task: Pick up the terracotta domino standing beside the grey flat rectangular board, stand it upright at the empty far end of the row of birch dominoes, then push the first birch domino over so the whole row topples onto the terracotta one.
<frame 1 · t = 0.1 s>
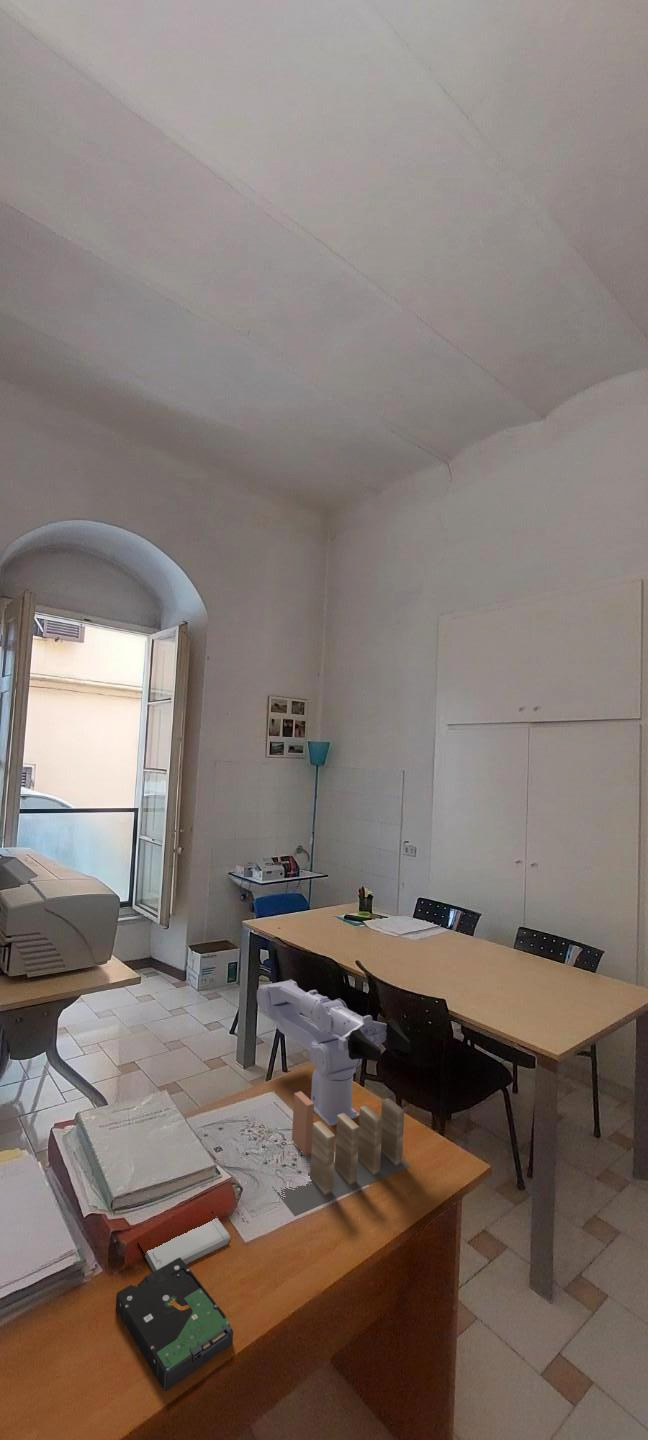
hand: (394, 1051, 122), 22 cm above the table, tool horizontal, fingers open, 7 cm apart
grey flat rectangular board: (343, 1178, 116), on the table
disk drive: (172, 1330, 85), on the table
domino 4: (321, 1185, 113), resting on grey flat rectangular board
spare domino: (301, 1149, 124), on the table
domino 2: (368, 1165, 119), resting on grey flat rectangular board
domino 3: (345, 1175, 116), resting on grey flat rectangular board
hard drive: (183, 1246, 99), on the table
domino 1: (390, 1156, 122), resting on grey flat rectangular board
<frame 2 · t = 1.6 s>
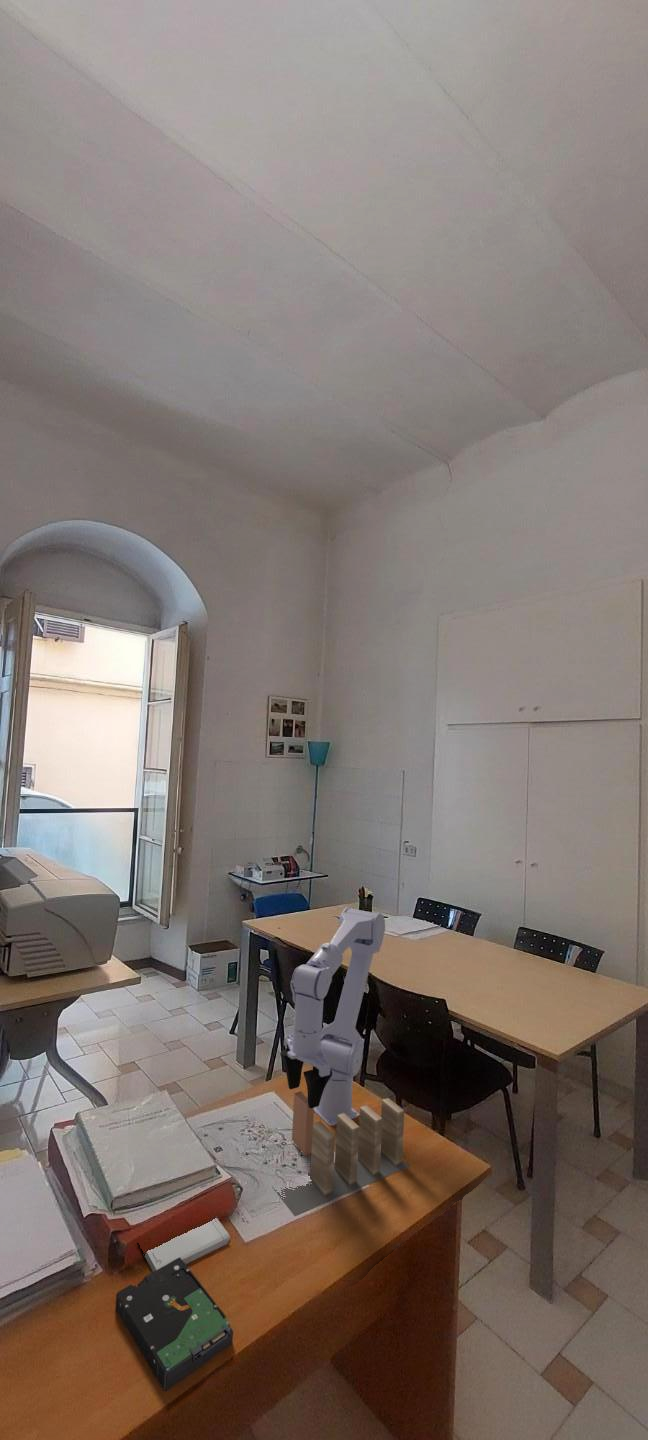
hand: (303, 1096, 124), 10 cm above the table, tool pointing down, fingers open, 7 cm apart
nothing on the table moved.
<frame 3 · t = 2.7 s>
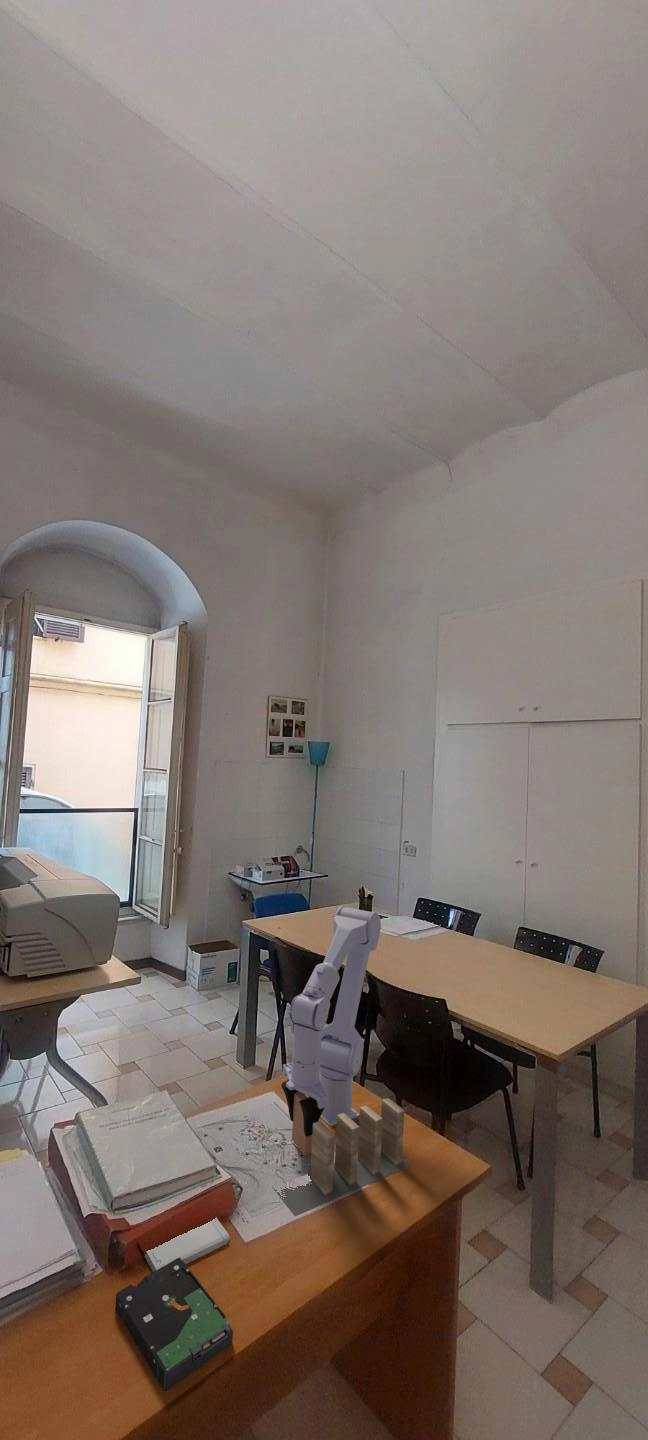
hand: (302, 1126, 124), 4 cm above the table, tool pointing down, fingers closed on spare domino, 5 cm apart
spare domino: (301, 1149, 124), on the table, touching gripper
everything else where it was.
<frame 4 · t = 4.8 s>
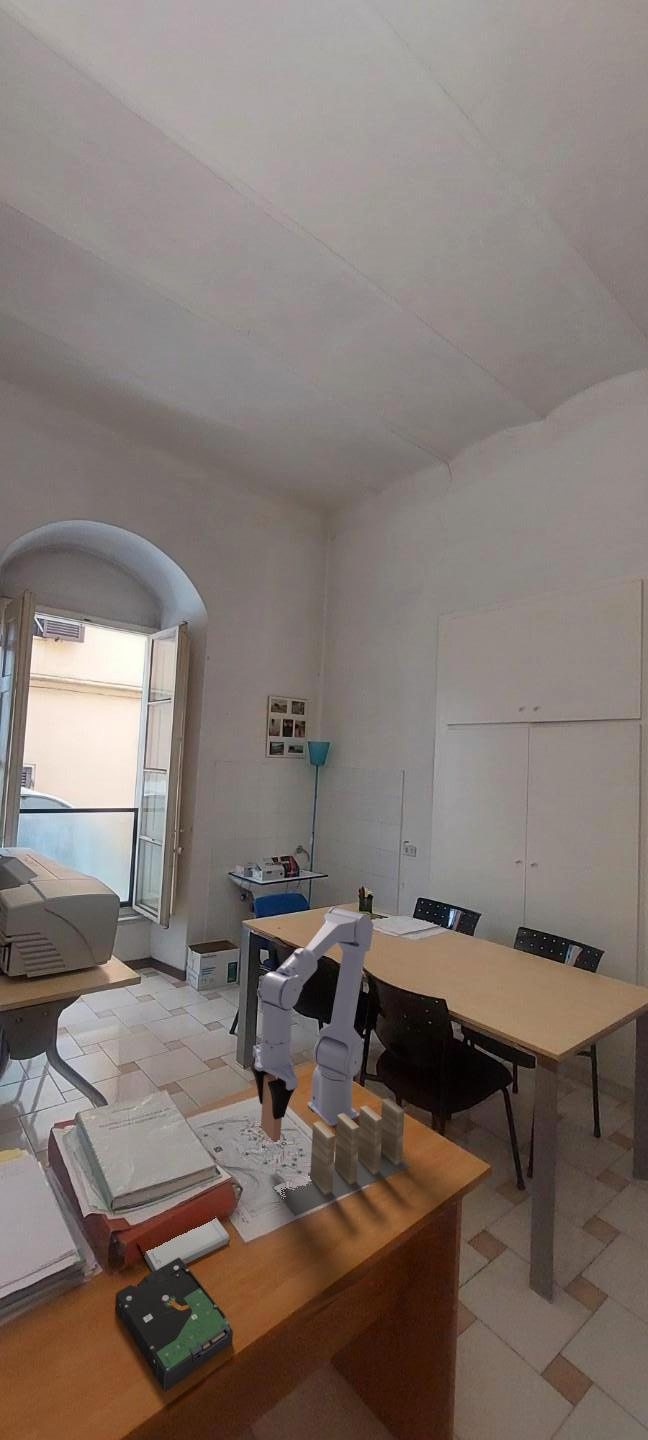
hand: (271, 1109, 119), 10 cm above the table, tool pointing down, fingers closed on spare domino, 5 cm apart
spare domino: (270, 1133, 119), point 6 cm above the table, touching gripper
everything else where it was.
when the fingers open (6 cm above the table, at t = 7.1 s): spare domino stays where it is, resting on grey flat rectangular board.
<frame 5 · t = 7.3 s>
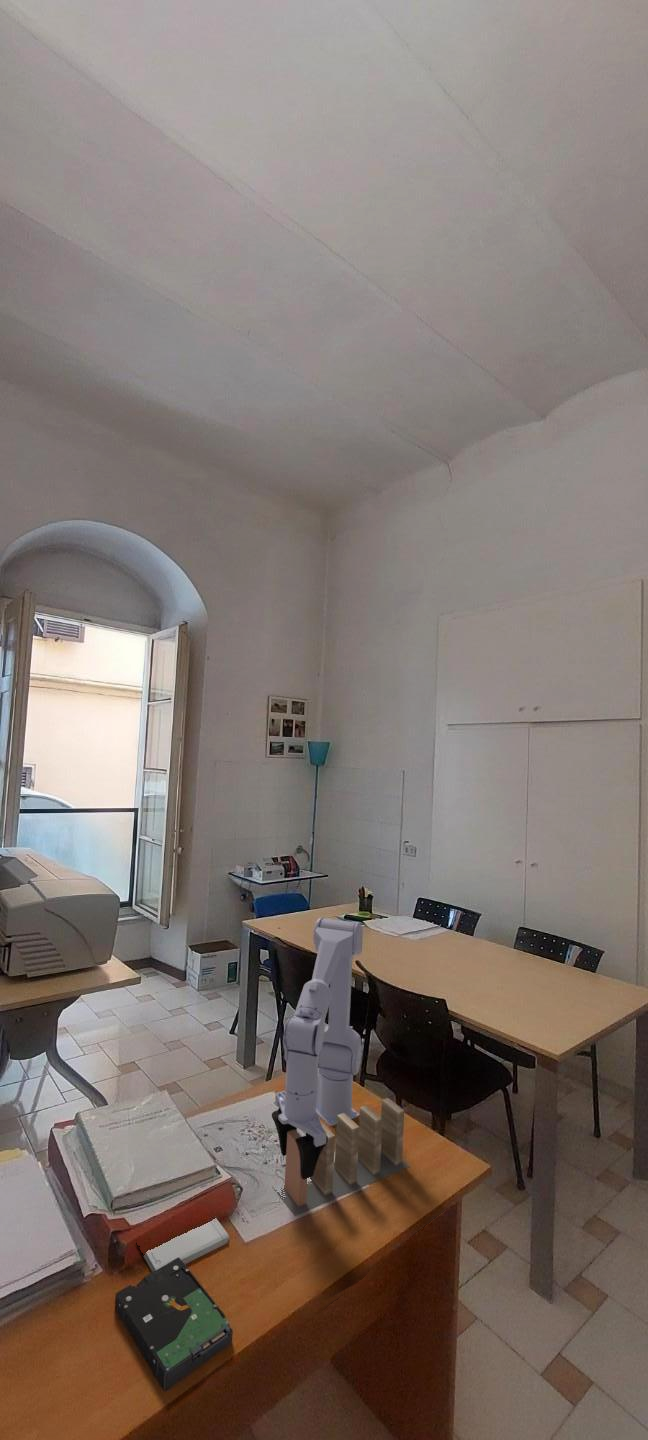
hand: (297, 1164, 111), 6 cm above the table, tool pointing down, fingers open, 6 cm apart
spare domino: (295, 1195, 110), resting on grey flat rectangular board
everything else where it was.
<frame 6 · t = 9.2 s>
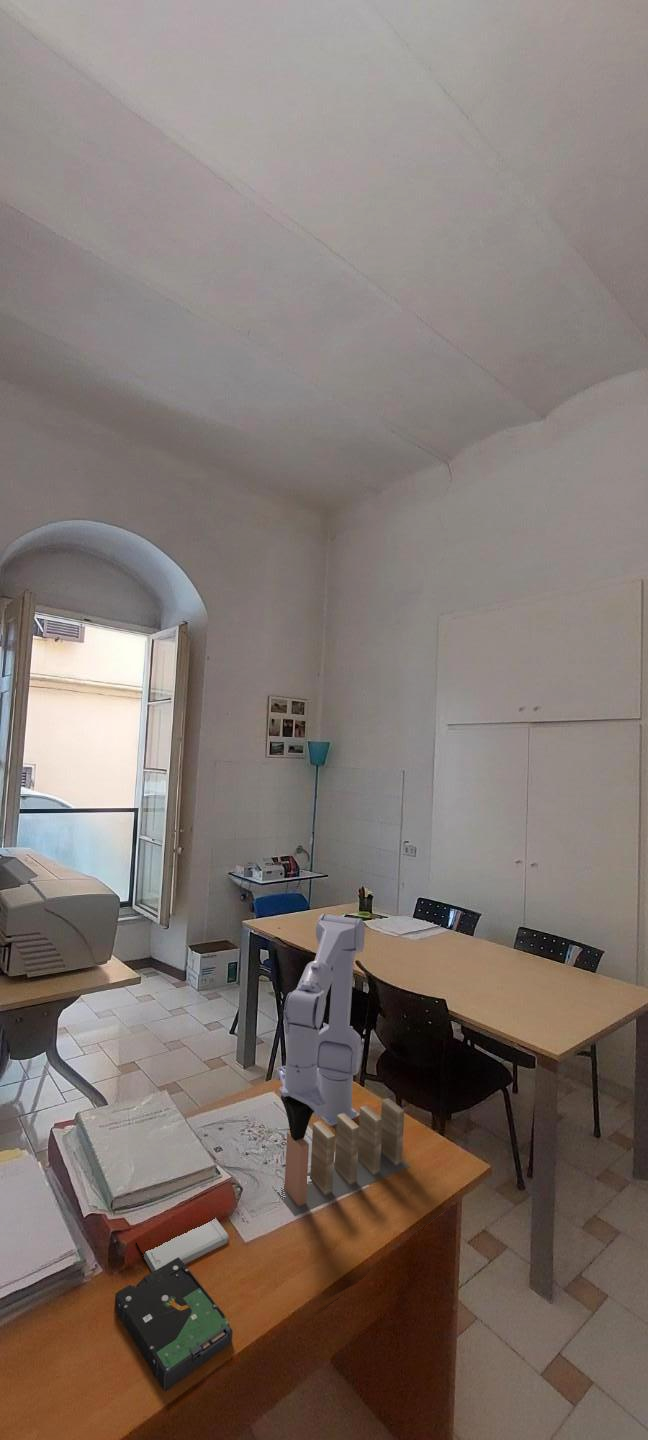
hand: (297, 1137, 111), 10 cm above the table, tool pointing down, fingers closed, pressing on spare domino
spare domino: (295, 1195, 110), resting on grey flat rectangular board, touching gripper
everything else where it was.
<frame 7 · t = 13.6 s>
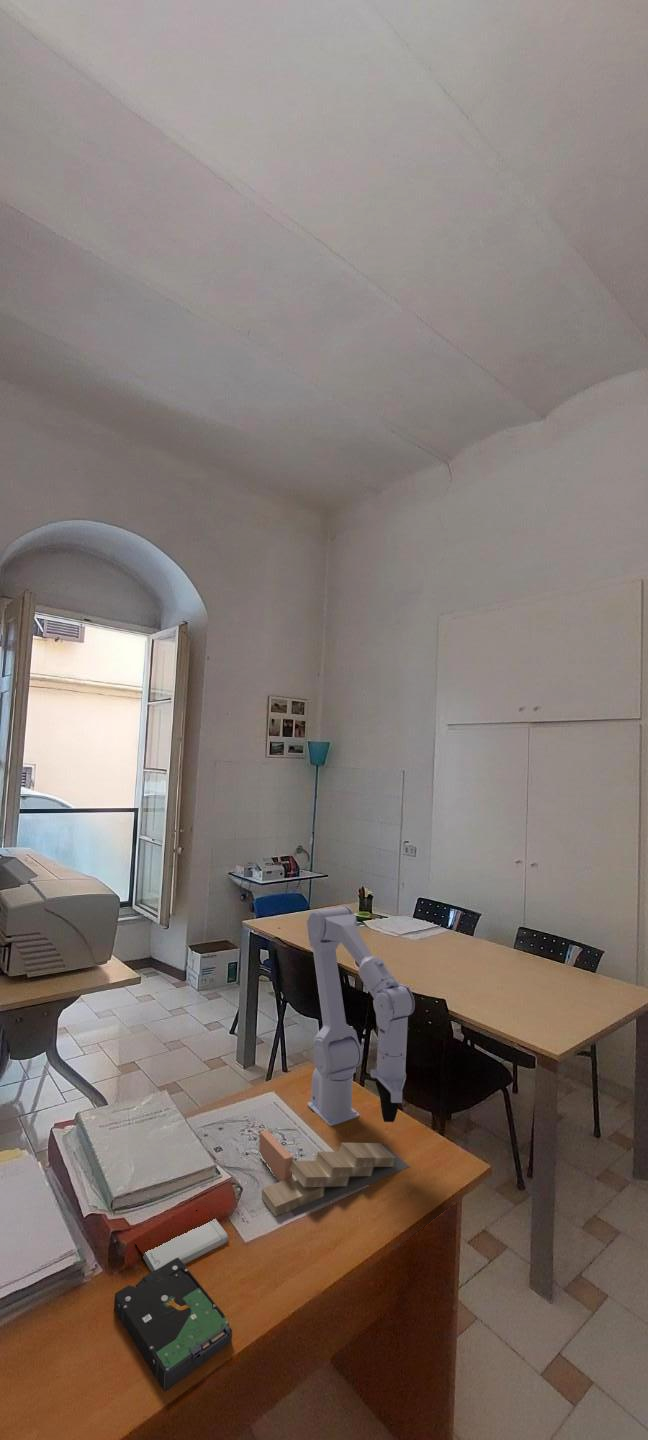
hand: (388, 1119, 122), 8 cm above the table, tool pointing down, fingers closed
domino 4: (316, 1182, 113), point 1 cm above the table, tilted 90°, touching grey flat rectangular board, domino 3
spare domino: (288, 1172, 113), point 3 cm above the table, tilted 93°, touching grey flat rectangular board
domino 2: (364, 1163, 119), point 1 cm above the table, tilted 73°, touching grey flat rectangular board, domino 1, domino 3
domino 3: (340, 1173, 116), point 1 cm above the table, tilted 73°, touching grey flat rectangular board, domino 2, domino 4
domino 1: (386, 1154, 122), point 1 cm above the table, tilted 73°, touching grey flat rectangular board, domino 2
everything else where it was.
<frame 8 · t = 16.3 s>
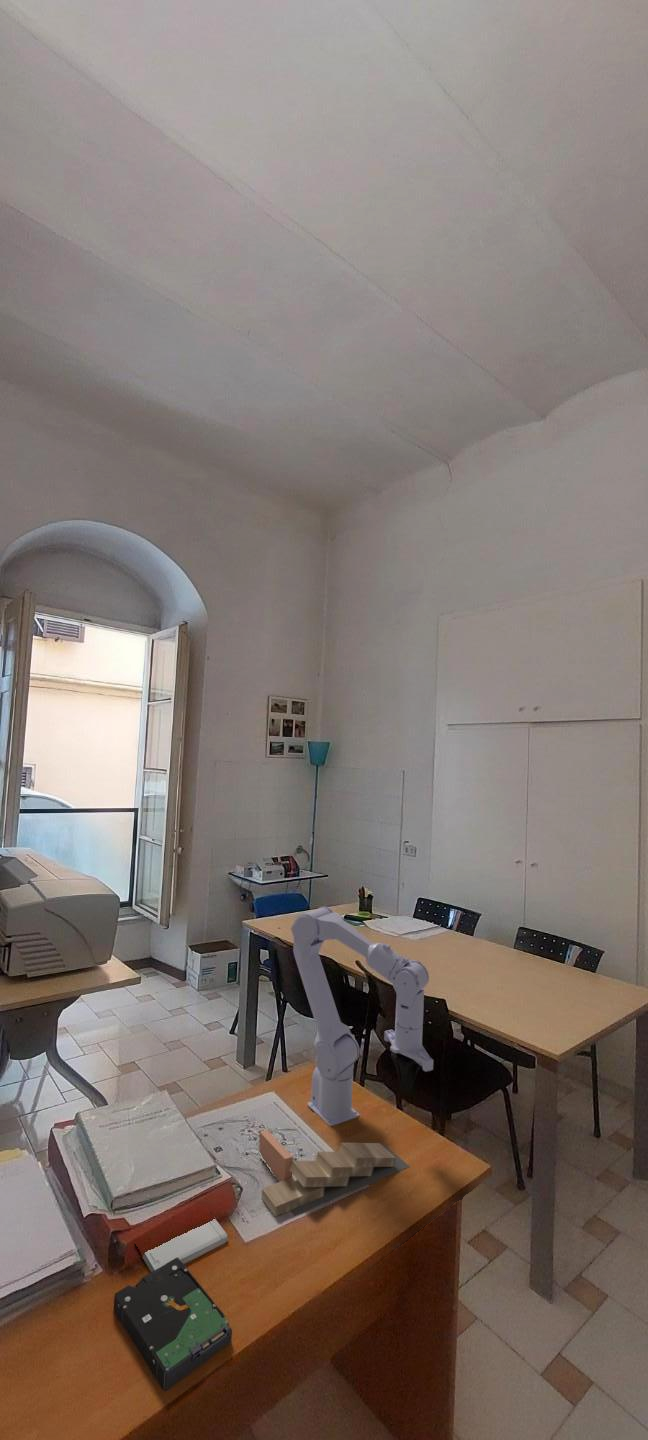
hand: (405, 1090, 129), 10 cm above the table, tool pointing down, fingers closed
nothing on the table moved.
at the end: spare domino tilted 93°; domino 4 tilted 90°; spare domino 2.6 cm from the target spot, point 3.0 cm above the table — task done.
